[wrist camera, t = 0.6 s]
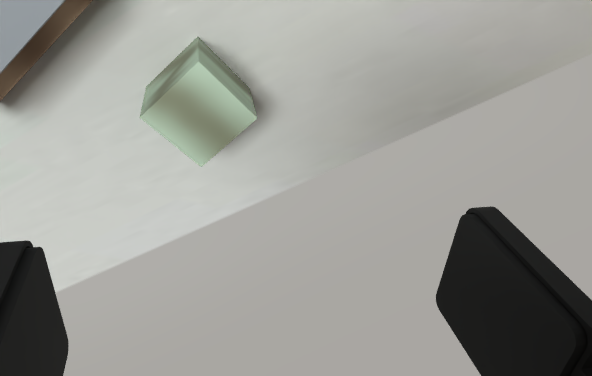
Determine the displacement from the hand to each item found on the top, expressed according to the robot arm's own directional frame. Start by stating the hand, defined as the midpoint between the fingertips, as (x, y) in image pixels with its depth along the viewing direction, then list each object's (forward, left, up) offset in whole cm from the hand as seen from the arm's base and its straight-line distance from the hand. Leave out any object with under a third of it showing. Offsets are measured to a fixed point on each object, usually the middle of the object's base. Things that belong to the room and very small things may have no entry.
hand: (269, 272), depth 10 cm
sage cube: (+6, +4, -30) cm, 31 cm away
